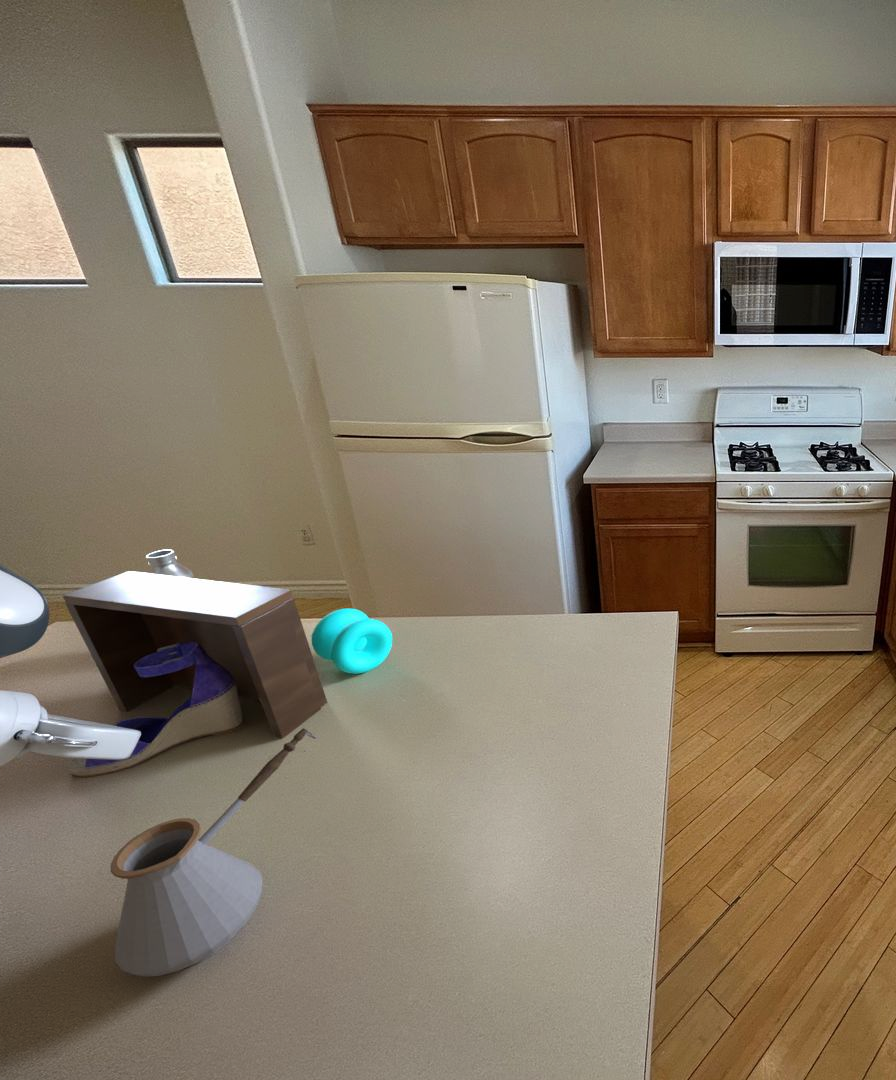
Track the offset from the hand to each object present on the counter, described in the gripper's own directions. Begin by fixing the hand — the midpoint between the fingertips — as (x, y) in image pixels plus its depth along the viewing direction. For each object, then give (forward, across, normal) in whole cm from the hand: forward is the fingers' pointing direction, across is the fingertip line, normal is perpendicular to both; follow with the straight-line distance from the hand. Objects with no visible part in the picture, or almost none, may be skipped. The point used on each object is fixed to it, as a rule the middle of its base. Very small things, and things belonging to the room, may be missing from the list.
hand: (119, 737), depth 77 cm
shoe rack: (+13, 0, -6) cm, 14 cm away
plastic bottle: (+22, +22, -15) cm, 35 cm away
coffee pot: (-4, -34, +12) cm, 36 cm away
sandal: (+7, 0, +1) cm, 7 cm away
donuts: (+24, -12, -16) cm, 31 cm away
